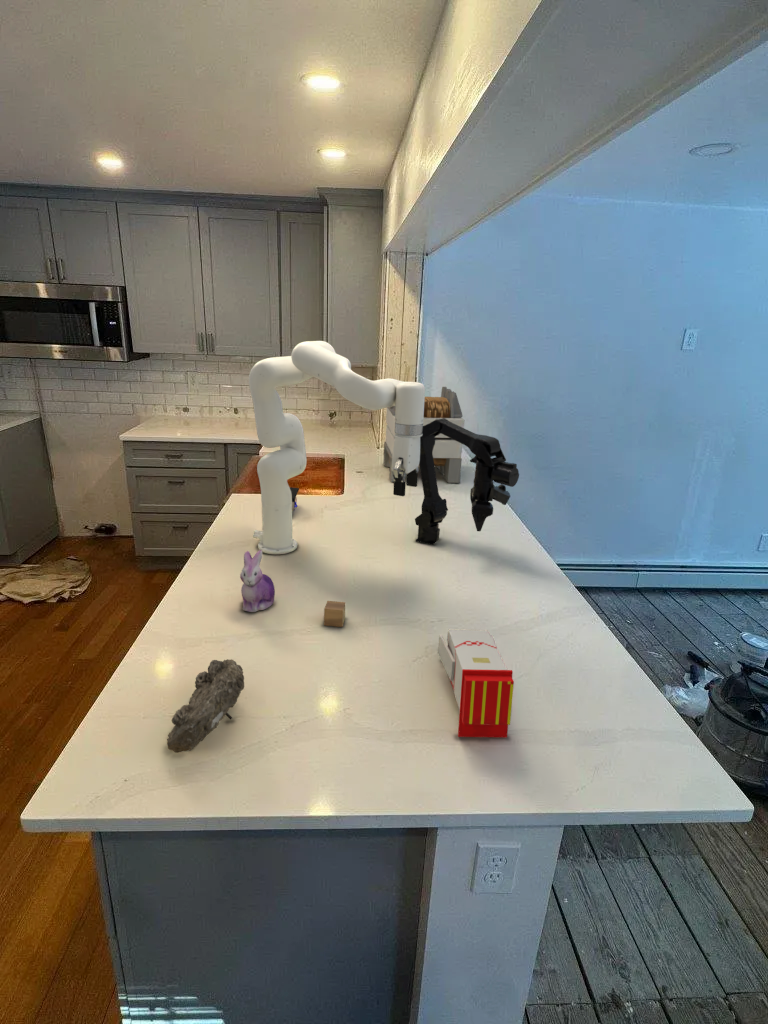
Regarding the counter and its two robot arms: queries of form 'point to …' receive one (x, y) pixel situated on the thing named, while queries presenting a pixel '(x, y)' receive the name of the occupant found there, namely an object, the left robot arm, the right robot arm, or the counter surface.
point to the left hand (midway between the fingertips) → (405, 490)
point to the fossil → (206, 705)
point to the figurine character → (294, 497)
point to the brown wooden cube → (334, 613)
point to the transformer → (445, 447)
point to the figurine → (255, 584)
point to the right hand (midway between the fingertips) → (478, 525)
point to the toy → (478, 682)
